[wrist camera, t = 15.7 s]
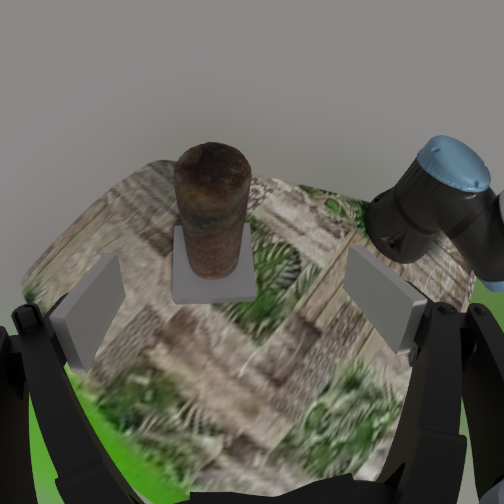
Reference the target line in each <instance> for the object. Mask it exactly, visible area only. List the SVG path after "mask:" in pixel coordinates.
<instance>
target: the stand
mask: <svg viewBox="0 0 504 504" xmlns="http://www.w3.org/2000/svg"><path fill="white" fill-rule="evenodd" d="M255 298H256V287H255V276H254V265H253V254H252V244H251V233H250V223H244V228H243V234H242V242H241V248H240V255H239V260H238V264H237V266H236V268H235V270H234V271H233V272H232V273H231V274H230V275H229V276H227V277H225V278H221V279H213V280H207V279H204V278H200V277H199V276H198V275H196V274H195V273H194V272H193V270H192V269H191V267H190V264H189V260H188V255H187V251H186V245H185V240H184V234H183V229H182V225H177V226H174V246H173V290H172V299H173V301H174V302H175V304H207V303H230V302H249V301H255Z"/></svg>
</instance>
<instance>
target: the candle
mask: <svg viewBox="0 0 504 504" xmlns="http://www.w3.org/2000/svg"><path fill="white" fill-rule="evenodd" d="M173 179H174V184H175V193H176V198H177V204H178V208H179V214H180V220H181V224H182V229H183V234H184V240H185V245H186V251H187V255H188V260H189V264H190V267H191V269H192V270H193V272H194V273H195V274H196V275H198V276H199V277H200V278H204V279H207V280H213V279H221V278H225V277H227V276H229V275H230V274H231V273H232V272H233V271H234V270H235V268H236V266H237V264H238V260H239V255H240V248H241V242H242V234H243V228H244V222H245V214H246V208H247V202H248V196H249V190H250V185H251V179H252V175H251V167H250V165H249V163H248V161H247V160H246V158H245V157H244V155H243V154H242V153H241V152H240V151H239V150H237V149H236V148H234V147H231V146H228V145H226V144H221V143H216V142H207V143H205V144H200V145H198V146H195V147H193V148H190V149H189V150H187V151H186V152H185V153H184V154H183V155H182V156H181V157H180V158H179V160H178V162H177V164H176V166H175V169H174V177H173Z"/></svg>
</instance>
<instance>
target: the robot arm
mask: <svg viewBox="0 0 504 504" xmlns="http://www.w3.org/2000/svg"><path fill="white" fill-rule="evenodd" d="M490 181H491V177H490V173H489V170H488V168H487V167H486V166H485V165H484V162H483V161H482V159H481V158H480V157H479V156H478V155H477V154H476V153H475V152H474V151H473V150H472V149H471V148H469V147H468V146H467V145H465V144H464V143H462V142H461V141H459V140H457V139H455V138H451V137H448V136H443V135H440V136H435V137H433V138H431V139H430V140H429V141H428V143H427V144H426V145H425V146H424V148H423V149H421V150H420V151H419V152H418V154H417V157H416V158H415V160H414V161H413V163H412V164H411V166H410V167H409V168H408V170H407V171H406V172H405V174H404V175H403V176H402V177H401V179H400V180H399V181H398V183H397V184H396V185H395V186H394V187H392V188H391V189H389V190H387V191H385V192H383V193H381V194H379V195H378V196H377V197H375V198H374V199H373V201H372V202H371V203H370V205H369V206H368V208H367V210H366V214H365V224H366V229H367V232H368V234H369V236H370V238H371V240H372V242H373V243H374V245H375V246H376V247H377V249H378V250H379V251H380V252H381V253H382V254H384V255H385V256H386V257H388V258H389V259H391V260H393V261H395V262H398V263H403V264H409V263H413V262H415V261H417V260H418V259H420V258H421V257H422V256H424V255H425V253H426V252H427V251H428V249H429V247H430V245H431V243H432V241H433V240H434V238H435V236H436V234H437V233H438V232H439V231H440V230H441V229H442V231H443V232H444V233H445V234H446V235H447V237H448V238H449V239H450V240H451V242H452V243H453V244H454V246H455V247H456V248H457V249H458V251H459V252H460V253H461V255H462V256H463V257H464V259H465V260H466V262H467V263H468V264H469V266H470V267H471V269H472V270H473V272H474V274H475V276H477V278H478V279H479V280H480V281H481V282H482V283H483V284H484V286H485V287H486V288H487V289H488V290H490V291H492V292H504V190H503V191H502V192H501V193H500V194H499V195H498V196H497V195H495V193H494V192H493V190H492V189H491V188H490V187H489V185H490ZM343 288H344V289H345V291H346V292H347V293H348V294H349V296H350V297H351V298H352V299H353V301H354V302H355V303H356V304H357V305H358V307H359V308H360V309H361V310H362V312H363V313H364V314H365V316H366V317H367V318H368V319H369V321H370V322H371V323H372V324H373V326H374V327H375V328H376V330H377V331H378V332H379V333H380V335H381V336H382V337H383V339H384V340H385V341H386V342H387V344H388V345H389V346H390V348H391V349H392V350H393V352H394V353H395V354H396V356H397V355H401V354H405V353H408V352H410V350H411V347H412V345H413V342H415V343H416V344H417V345H418V348H417V350H416V353H415V355H414V357H413V360H412V362H411V365H410V366H413V368H412V373H411V378H410V382H409V386H408V391H407V395H406V399H405V403H404V406H403V410H402V414H401V417H400V420H399V424H398V427H397V430H396V433H395V436H394V439H393V442H392V445H391V448H390V451H389V454H388V456H387V459H386V462H385V464H384V467H383V469H382V471H381V473H380V475H379V477H378V478H377V480H376V481H375V482H374V481H366V480H354V479H353V477H352V474H351V473H347V474H344V475H340V476H336V477H332V478H328V479H324V480H319V481H314V482H312V483H310V484H308V485H305V486H303V487H300V488H298V489H296V490H293V491H290V492H288V493H285V494H282V495H280V496H276V497H267V496H257V495H249V494H242V493H235V492H190V500H187V501H182V502H178V503H175V504H456V503H457V499H458V495H459V491H460V486H461V481H462V476H463V470H464V464H465V456H466V449H467V438H466V436H464V435H459V426H460V415H461V396H462V399H463V403H464V408H465V413H466V418H467V423H468V428H469V435H470V440H471V448H472V456H473V465H474V476H475V485H476V490H477V495H478V499H479V504H504V333H503V331H502V329H501V328H500V326H499V324H498V323H497V321H496V319H495V318H494V316H493V315H492V313H491V312H490V310H489V309H488V308H487V307H485V306H484V305H482V304H480V303H479V304H478V303H471V304H469V306H468V309H467V312H466V313H458V311H457V309H456V308H455V307H454V306H452V305H451V304H448V303H445V302H435V303H434V302H433V301H432V300H431V299H430V298H429V297H427V296H426V295H425V294H424V293H423V292H422V293H421V291H420V290H419V289H417V287H415V286H414V285H413V284H412V283H410V282H408V281H406V280H404V279H403V278H401V277H400V276H399V275H398V274H397V273H395V272H394V271H393V270H392V269H390V268H389V267H388V266H387V265H385V264H384V263H383V262H382V261H380V260H379V259H378V258H377V257H375V256H374V255H373V254H371V253H370V252H369V251H368V250H366V249H365V248H364V247H362V246H361V245H349V249H348V257H347V265H346V272H345V278H344V285H343ZM125 297H126V296H125V291H124V286H123V281H122V276H121V270H120V265H119V259H118V253H105V254H104V255H103V256H102V257H101V258H100V259H99V260H98V262H97V263H96V264H95V265H94V266H93V267H92V268H91V269H90V270H89V271H88V272H87V273H86V274H85V276H84V277H83V278H82V279H81V280H80V281H79V282H78V283H77V284H76V286H75V287H74V288H73V289H72V290H71V291H70V292H69V293H67V294H65V295H63V296H62V297H60V298H59V299H58V301H57V302H56V303H55V305H53V306H52V308H51V309H50V310H49V311H48V312H47V314H46V315H45V316H44V317H43V318H42V315H41V312H40V310H39V307H38V305H37V304H34V303H28V304H24V305H22V306H19V307H18V308H17V309H15V310H14V311H13V313H12V315H11V317H12V319H13V322H14V324H15V327H16V329H17V331H18V334H19V335H12V336H9V335H8V333H7V331H6V329H5V327H3V326H0V504H38V502H37V497H36V491H35V486H34V479H33V473H32V464H31V454H30V441H29V393H30V397H31V401H32V405H33V408H34V412H35V415H36V418H37V421H38V424H39V428H40V430H41V433H42V436H43V439H44V442H45V445H46V447H47V450H48V452H49V455H50V457H51V460H52V462H53V465H54V467H55V469H56V471H57V474H58V478H57V479H55V484H56V487H57V489H58V492H59V493H60V496H61V498H62V499H63V502H64V503H65V504H145V503H144V502H143V501H142V500H141V499H140V497H139V496H138V495H137V494H136V493H135V492H134V490H133V489H132V487H131V486H130V485H129V483H128V482H127V481H126V479H125V478H124V477H123V475H122V474H121V472H120V471H119V469H118V468H117V466H116V465H115V463H114V462H113V460H112V459H111V457H110V456H109V454H108V453H107V451H106V450H105V448H104V446H103V445H102V443H101V441H100V440H99V438H98V436H97V434H96V433H95V431H94V429H93V427H92V426H91V424H90V422H89V420H88V418H87V416H86V414H85V412H84V410H83V408H82V406H81V404H80V402H79V400H78V398H77V396H76V394H75V392H74V390H73V387H72V385H71V383H70V381H69V378H68V376H67V374H66V372H65V369H64V365H65V364H66V362H68V365H69V367H70V369H71V371H72V372H78V373H86V374H87V371H88V369H89V367H90V365H91V363H92V361H93V359H94V356H95V354H96V352H97V350H98V348H99V346H100V344H101V342H102V340H103V338H104V336H105V334H106V332H107V330H108V328H109V326H110V324H111V323H112V321H113V319H114V317H115V315H116V313H117V311H118V309H119V308H120V306H121V304H122V302H123V300H124V298H125Z"/></svg>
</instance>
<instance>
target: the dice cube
mask: <svg viewBox="0 0 504 504" xmlns="http://www.w3.org/2000/svg"><path fill="white" fill-rule="evenodd" d="M417 348H418V345H417V344H416V343H415V342H413V345H412V347H411V350H410V352H409V357H410V365H411V362H412V360H413V357H414V355H415V353H416V350H417ZM410 367H413V366H410Z"/></svg>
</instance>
